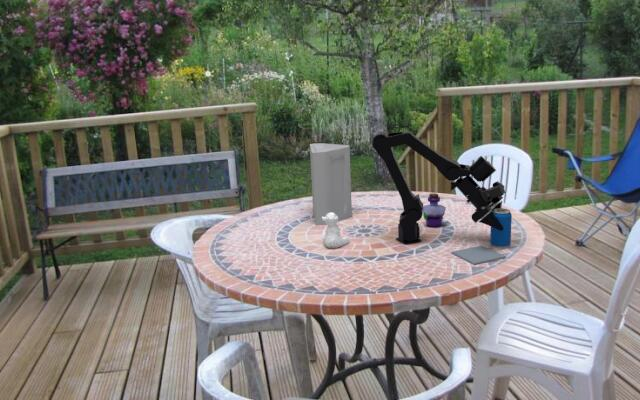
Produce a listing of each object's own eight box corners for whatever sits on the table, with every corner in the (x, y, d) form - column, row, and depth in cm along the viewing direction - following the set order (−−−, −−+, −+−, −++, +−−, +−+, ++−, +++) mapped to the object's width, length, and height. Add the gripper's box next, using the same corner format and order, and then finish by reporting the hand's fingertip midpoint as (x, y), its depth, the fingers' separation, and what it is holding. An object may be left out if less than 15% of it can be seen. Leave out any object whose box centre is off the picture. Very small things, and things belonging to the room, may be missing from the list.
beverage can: (507, 241, 213) (508, 207, 210) (513, 248, 207) (514, 212, 204) (487, 242, 213) (488, 208, 210) (493, 249, 207) (494, 214, 204)
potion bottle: (417, 225, 235) (417, 194, 232) (432, 220, 240) (432, 189, 237) (435, 230, 229) (435, 198, 226) (450, 225, 234) (450, 193, 231)
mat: (474, 265, 194) (474, 263, 194) (451, 253, 205) (451, 251, 205) (505, 258, 199) (506, 256, 199) (481, 247, 210) (481, 245, 209)
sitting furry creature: (350, 242, 221) (349, 208, 218) (344, 250, 213) (343, 216, 210) (324, 240, 223) (322, 208, 220) (317, 249, 215) (315, 215, 212)
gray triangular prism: (354, 223, 242) (352, 150, 235) (315, 225, 241) (312, 152, 234) (349, 209, 260) (346, 141, 253) (313, 211, 260) (309, 143, 253)
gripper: (482, 182, 198) (517, 219, 196) (497, 169, 214) (530, 204, 211) (457, 204, 204) (490, 241, 202) (473, 190, 220) (505, 224, 217)
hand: (505, 226), depth 208 cm, fingers closed on beverage can, 6 cm apart
